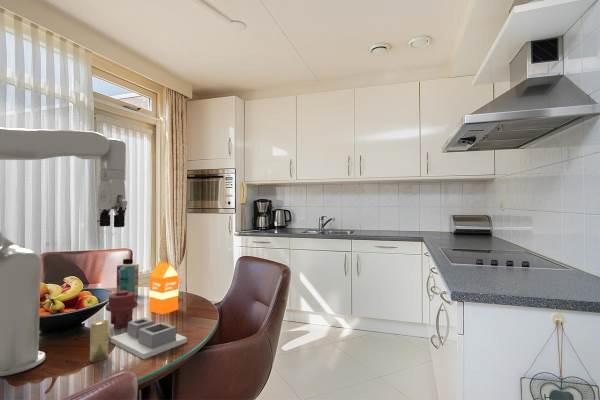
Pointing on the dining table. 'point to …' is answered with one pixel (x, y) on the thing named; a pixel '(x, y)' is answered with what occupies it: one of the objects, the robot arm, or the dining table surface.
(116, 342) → the plate
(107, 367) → the dining table surface
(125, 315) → the mechanical component
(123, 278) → the beverage bottle
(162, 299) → the orange juice
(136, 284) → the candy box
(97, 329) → the brass pipe fitting
